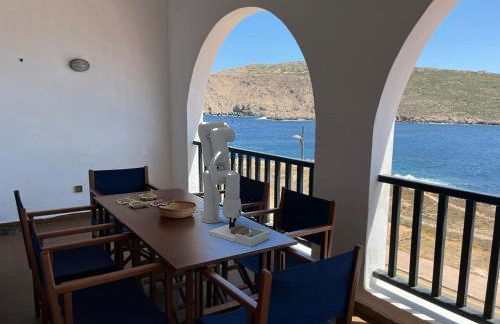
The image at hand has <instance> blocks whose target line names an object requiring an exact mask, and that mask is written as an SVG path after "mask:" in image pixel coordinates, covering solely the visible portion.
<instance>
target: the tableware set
mask: <svg viewBox="0 0 500 324" xmlns="http://www.w3.org/2000/svg"><path fill="white" fill-rule="evenodd" d="M138 196H139V197H141V199H143V200H144V199H145V200H144V201H140V200H136V199H131V197H128V196H127V197H124V198H120V199H116V200H115V202H116V204H118V205H129V206H130V207H133V208H132V209H142V208H143V207H144V206H146V205H148V204H149V205H150V206H151V205H152V206H151V207H159V206H158V205H159V204H158V205H154V204H153V203H154V202H159V201H164V200H163V199H157V200H152V199H155V198H157V196H158V195H157V194H154V192H148V193H142V194H138ZM124 200H132V201H130V202H124V203H121V201H124ZM146 200H151V201H146ZM141 207H142V208H141Z"/></svg>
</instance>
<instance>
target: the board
mask: <svg viewBox="0 0 500 324" xmlns="http://www.w3.org/2000/svg"><path fill="white" fill-rule="evenodd" d="M208 235H210V236H213V237H216V238H220V239H224V240H226V241H230V242H233V243H236V242H235V234H232V233H231V229H229V223H228V224H226V225H222V226H219V227H216V228H213V229H212V230H211V229H210V230H209V231H208ZM243 236H247V237H250V236H253V235H252V229H249V233H247V234H245V235H243Z"/></svg>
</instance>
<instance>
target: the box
mask: <svg viewBox="0 0 500 324" xmlns="http://www.w3.org/2000/svg"><path fill="white" fill-rule="evenodd" d="M251 230H252V235H251V236H252V237H250V236H248V237H247V236H243V235H240V234H235V242H234V243H238V244H242V245H245V246H249V247H253V246H256V245H257V244H260V243H262V242H264V241H267V240H269V235H270V234H269V233H270V232H269V230H265V229H261V228H257V227H251Z"/></svg>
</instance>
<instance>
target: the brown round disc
mask: <svg viewBox="0 0 500 324" xmlns="http://www.w3.org/2000/svg"><path fill="white" fill-rule="evenodd" d="M249 230H250V227H249V226H245V225H241V224H238V225H235V226H234V227H231V233H232V234H240V235H245V234H247V233H249Z"/></svg>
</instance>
